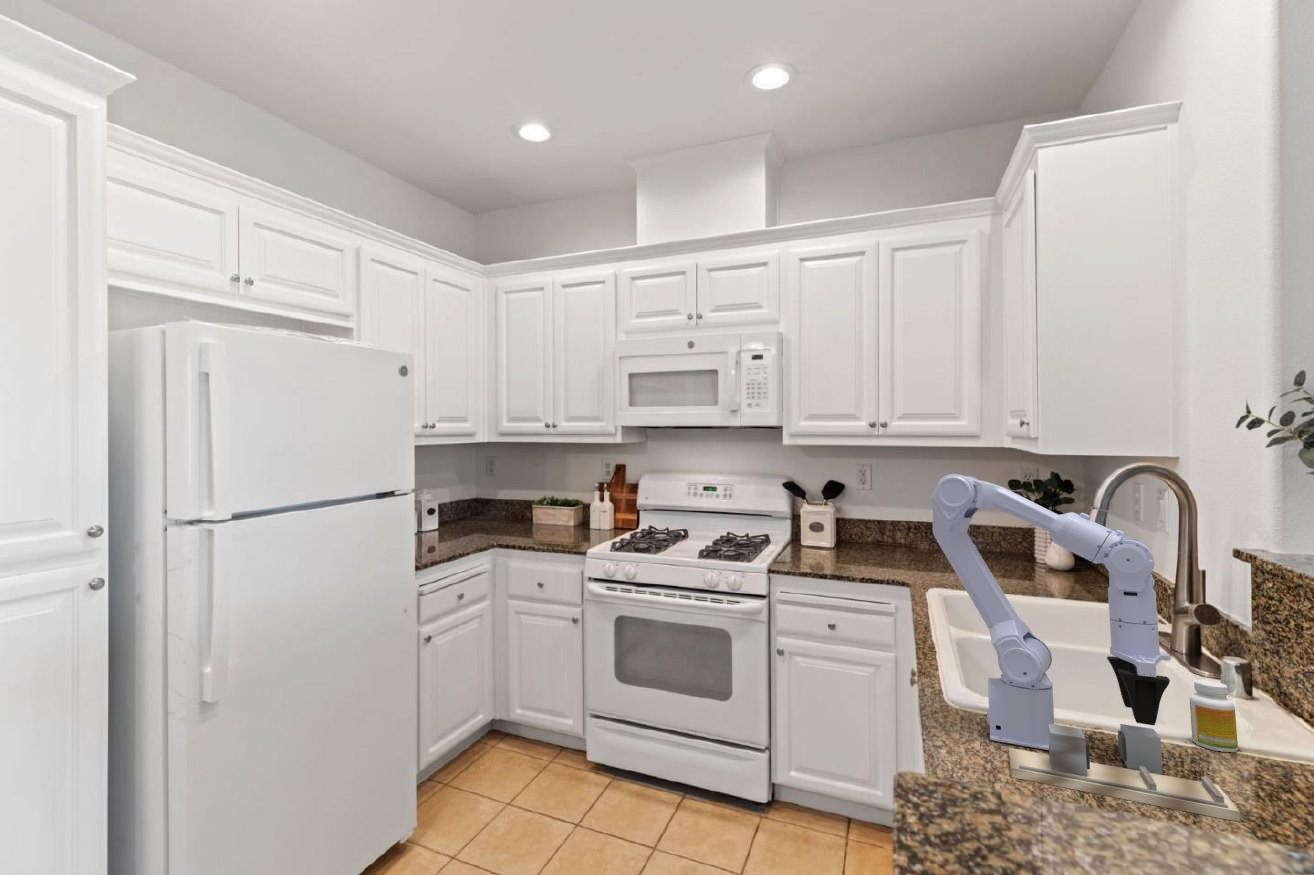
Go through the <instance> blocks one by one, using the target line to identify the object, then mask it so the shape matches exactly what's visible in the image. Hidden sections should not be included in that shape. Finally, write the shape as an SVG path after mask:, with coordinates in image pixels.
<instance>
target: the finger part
mask: <svg viewBox="0 0 1314 875" xmlns="http://www.w3.org/2000/svg"><path fill="white" fill-rule="evenodd" d="M1119 726H1120V730H1119V729H1118V730H1117V740H1118V754H1119V755H1120V757H1121V758H1122V761H1123V762H1124V765H1125V766H1126V769H1131V770H1137V771H1139V766H1143V767H1146V769H1147V770H1148V772H1149V773H1154V774H1160V775H1164V774H1163V762H1162V761H1163V757H1162V740H1161V737H1160V735H1159V734H1158V733H1157V732H1156V730H1155V729H1154V728H1151V727H1143V726H1138V725H1137V726H1136V725H1131V724H1125V723H1119Z"/></svg>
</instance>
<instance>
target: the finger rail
mask: <svg viewBox="0 0 1314 875" xmlns="http://www.w3.org/2000/svg"><path fill="white" fill-rule="evenodd" d="M1048 738H1049V750H1048V752H1049V753H1048V754H1046V753H1040V752H1035V751H1029V750H1025V749H1024V750H1023V749H1017V748H1013V747H1009V748H1008V754H1009V755H1008V756H1009V766H1010V775H1011V778H1015V779H1019V780H1025V781H1030V782H1034V783H1035V782H1036V783H1039V784H1045V785H1050V786H1054V787H1061V788H1065V789H1071V790H1076V791H1079V792H1080V791H1081V792H1086V793H1090V794H1096V795H1101V796H1105V797H1111V798H1116V799H1122V800H1125V801H1132V802H1137V803H1140V804H1141V803H1142V804H1147V805H1152V806H1157V807H1162V808H1167V809H1172V810H1177V811H1183V812H1187V813H1191V814H1196V815H1197V814H1198V815H1202V816H1206V817H1207V816H1208V817H1212V818H1217V819H1222V820H1228V821H1234V822H1238V823H1241V822H1242V821H1241V820H1242V819H1241V812H1240V810H1239V809H1238V807H1237V806H1236V805H1235V803H1233V801H1232V800H1231V799H1230V798H1229V797H1228V795H1227V794H1226V793H1225V791H1223V789H1222V787H1220V785H1219V784H1215V783H1213V782H1212V781H1211V779H1210V778H1209V777H1206V776H1201V778H1200V779H1201V781H1198V780H1193V779H1186V778H1182V777H1181V778H1180V777H1176V776H1169V775H1166V774H1165V775H1164V774H1157V773H1152V772H1148V770H1147V769H1146V767H1143V766H1139V770H1135V769H1129V768H1127V767H1126V768H1124V767H1119V766H1114V765H1113V766H1112V765H1109V764H1104V763H1103V764H1101V763H1096V762H1091V761H1090V746H1089V745H1090V744H1089V742H1088V740H1087V737H1086V736H1085V735H1084V733H1083V730H1082V728H1077V727H1071V726H1065V725H1061V724H1060V725H1059V724H1054V725H1053V724H1048Z"/></svg>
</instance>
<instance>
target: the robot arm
mask: <svg viewBox="0 0 1314 875" xmlns="http://www.w3.org/2000/svg"><path fill="white" fill-rule="evenodd" d="M930 501H931V504H932V534H933V536H934V539H935V540H936V542H937V543H938V545H939V547H940V549H941V550H942V552H943V554H944V555H945V557H946V559H947V561H948V562H949V563H950V565H951V567H952V569H953V570H954V572H955V574H956V575H957V578H958V579H959V581H960V582H961V584H962V586H963V588H964V589H965V591H966V592H967V594H968V596H969V597H970V599H971V601H972V603H973V605H974V606H975V608H976V609H977V611H978V613H979V615H980V617H981V618H982V620H983V622H984V623H985V625H986V626H987V628H988V630H989V634H990V635H989V636H990V641H991V645H992V647H993V649H994V650H995V652H996V654H997V664H998V668H999V670H1000V672H1001V674H1000V677H999V678H997V677H996V678H995V677H994V678H993V677H988V678H987V692H988V693H987V694H988V712H986V724H987V725H989V739H990V740H991V741H994V742H1000V743H1005V744H1011V745H1017V746H1023V747H1029V748H1034V749H1039V750H1040V749H1041V750H1046V751H1049V738H1048V724H1053V725H1055V712H1054V711H1055V710H1054V689H1053V681H1051V679H1050V678H1049V677H1048V674H1047V673H1046V672H1047V671H1048V670H1049V669H1050V668H1051V666H1052V664H1053V656H1052V652H1051V649H1050V648H1049V646H1048V645H1047V644H1046V643H1045V642H1044V641H1043V640H1041V639H1040V638H1038V637H1037V636H1036V635H1035V634H1034V633H1033V632H1032V630H1031V628H1030V626H1029V625H1028V624H1026V623H1025V622H1024V621H1023V620H1022V618H1020V617H1019V616H1018V614H1017V612H1016V611H1015V609H1014V607H1013V606H1012V603H1010V601H1009V599H1008V598H1007V596H1006V594H1005V592H1004V591H1003V589H1002V588H1001V586H1000V585H999V583H998V582H997V580H996V578H995V577H994V575H993V573H992V572H991V570H990V569H989V566H988V565H987V564H986V561H985V560H984V559H983V557H982V556H981V554H980V552H979V550H978V549H977V547H976V546H975V544H974V542H973V541H972V539H971V538H970V536H969V534H968V530H969V527H970V524H971V522H972V520H973V516H974V515H976V513H977V512H978V510H979V509H991V510H992V509H996V510H1000V511H1002V512H1004V513H1008V514H1009V515H1012V516H1013V517H1016V518H1017V519H1020V520H1023V521H1025V522H1026V523H1029V524H1032V525H1034V526H1035V527H1038V528H1040V529H1042V530H1045V531H1047V533H1049V535H1050V537H1051V540H1052V543H1054V544H1055V545H1057V546H1059V547H1061V548H1063V549H1065V550H1067V551H1069V552H1071V553H1073V554H1075V555H1077V556H1079V557H1081V558H1084V560H1087V561H1090V562H1091V563H1093V564H1096V565H1097V564H1102V565H1104V566H1105V568H1106V570H1107V571H1108V579H1109V580H1108V581H1109V584H1108V585H1109V586H1108V588H1107V597H1108V613H1109V614H1108V615H1109V616H1108V617H1109V632H1110V647H1109V654H1110V655H1111V656H1107V657H1106V659H1107V660H1108V662H1109V664H1110V666H1111V667H1112V671H1113V672H1114V674H1115V678H1116V679H1117V683H1118V688H1119V691H1120V694H1121V698H1122V701H1123V705H1124V706H1125V707H1126V708H1130V709H1131V711H1132V715H1133V718H1134V720H1135V722H1136V724H1139V725H1140V724H1142V725H1147V726H1156V722H1157V720H1158V715H1159V713H1158V712H1159V708H1160V704H1161V700H1162V697H1163V694H1164V692H1165V691H1166V689H1167V688H1168V686H1169V685H1170V683H1171V682H1170V681H1171V680H1170V678H1169V677H1168V676H1164V675H1157V665H1158V664H1159V663H1160V662H1161V661H1171V655H1170V654H1169V653H1167V652H1161V649H1160V636H1159V621H1158V620H1159V619H1158V607H1157V605H1158V604H1157V593H1156V591H1155V589H1154V588H1155V578H1154V577H1153V574H1152V572H1153V570H1154V567H1155V557H1154V554H1153V552H1152V550H1151V548H1149V547H1148V546H1147V545H1146V544H1144V543H1143V542H1141V541H1139V539H1137V538H1132V537H1124V536H1125V533H1126V532H1125V531H1122V530H1120V529H1117V530H1116V531H1115V530H1112V529H1111V528H1109V527H1106V526H1104V525H1102V524H1099V523H1098V522H1096V521H1093V520H1090V519H1091V517H1092V516H1091V515H1089V514H1087V513H1084V512H1081V513H1080V514H1078V513H1076V512H1074V511H1070V512H1066V513H1063V514H1058V513H1056V512H1054V511H1052V510H1050V509H1048V508H1045V507H1044V506H1042V505H1040V504H1038V503H1036V502H1033V501H1032V500H1029V499H1028V498H1026V497H1024V496H1022V495H1020V494H1018V493H1015V492H1013V491H1012V490H1010V489H1008V488H1006V487H1003V486H1000V485H998V484H995V483H992V482H988V481H985V480H980V479H978V478H976V477H974V476H972V475H961V474H957V473H952V474H947V475H945V476H943V477H941V478H940V479H939V480H938V482H937V483H936V485H935V487H934V489H933V491H932V494H931V496H930Z"/></svg>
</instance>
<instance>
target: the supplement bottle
mask: <svg viewBox="0 0 1314 875" xmlns="http://www.w3.org/2000/svg"><path fill="white" fill-rule="evenodd" d="M1193 685H1194V686H1193V689H1194V691H1196V692H1195V693H1192V694H1191V695H1190V696H1189V709H1190V724H1191V725H1190V726H1191V738H1193V739H1192V741H1193V740H1194V742H1193V743H1194V744H1195V743H1196V744H1195V745H1197V746H1199V747H1201V748H1204V749H1207V750H1210V751H1213V752H1214V751H1215V752H1218V751H1221V752H1220V753H1229V752H1231V753H1236V752H1238V751H1239V744H1238V734H1237V733H1238V731H1237V720H1236V708H1235V707H1236V704H1235V703H1234V702H1233V701H1232V700H1231V699H1229V698H1227V696H1229V691H1228V690H1229V689H1228V685H1226V684H1225V683H1221V682H1217V681H1213V680H1205V679H1194V681H1193Z"/></svg>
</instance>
